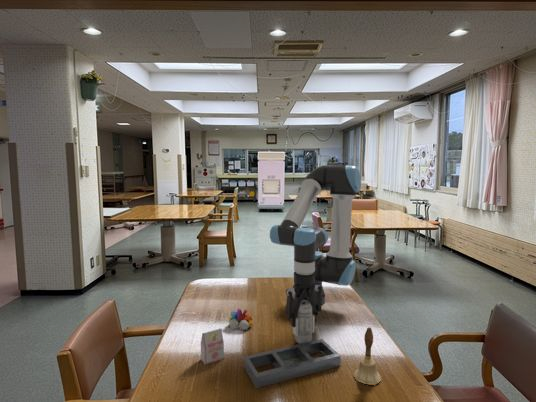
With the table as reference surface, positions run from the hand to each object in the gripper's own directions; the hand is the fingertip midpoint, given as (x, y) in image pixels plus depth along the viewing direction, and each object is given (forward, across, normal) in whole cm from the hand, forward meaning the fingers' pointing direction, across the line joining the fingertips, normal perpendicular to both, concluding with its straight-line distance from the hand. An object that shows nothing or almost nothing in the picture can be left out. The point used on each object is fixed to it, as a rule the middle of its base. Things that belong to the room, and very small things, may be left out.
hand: (303, 332), depth 126 cm
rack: (+4, +10, +11) cm, 16 cm away
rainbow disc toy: (+4, +17, -21) cm, 28 cm away
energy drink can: (+4, 0, 0) cm, 4 cm away
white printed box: (+4, +33, -3) cm, 34 cm away
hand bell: (+4, -9, +25) cm, 27 cm away
